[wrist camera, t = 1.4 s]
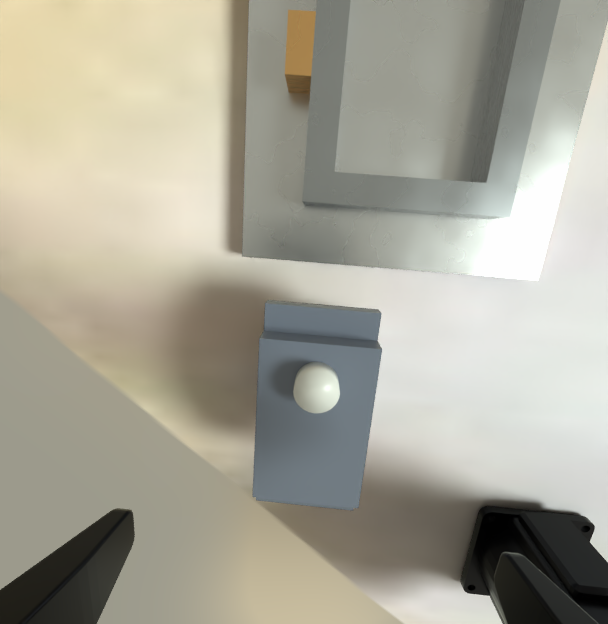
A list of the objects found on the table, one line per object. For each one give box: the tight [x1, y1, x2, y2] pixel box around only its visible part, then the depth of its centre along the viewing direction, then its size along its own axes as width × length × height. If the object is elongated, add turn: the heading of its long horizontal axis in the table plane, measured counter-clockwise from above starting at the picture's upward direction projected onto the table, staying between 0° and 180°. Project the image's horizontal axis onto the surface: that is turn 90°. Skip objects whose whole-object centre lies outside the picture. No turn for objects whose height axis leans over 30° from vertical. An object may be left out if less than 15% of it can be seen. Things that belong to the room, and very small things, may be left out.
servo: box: [253, 300, 382, 511], centre depth 14 cm, size 9×4×6 cm, turn 176°
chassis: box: [242, 0, 608, 281], centre depth 12 cm, size 16×14×2 cm
